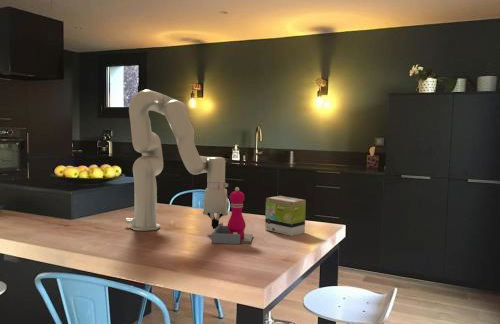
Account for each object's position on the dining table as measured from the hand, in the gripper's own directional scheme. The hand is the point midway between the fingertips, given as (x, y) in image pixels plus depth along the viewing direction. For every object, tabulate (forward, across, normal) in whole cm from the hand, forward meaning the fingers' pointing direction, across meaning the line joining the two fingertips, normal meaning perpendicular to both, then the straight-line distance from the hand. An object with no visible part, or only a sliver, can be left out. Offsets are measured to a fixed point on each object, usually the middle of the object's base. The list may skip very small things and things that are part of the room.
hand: (215, 228), depth 192 cm
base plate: (+1, -11, +12) cm, 17 cm away
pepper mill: (0, -11, +12) cm, 16 cm away
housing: (+1, -7, +9) cm, 12 cm away
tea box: (+2, -30, -6) cm, 30 cm away
